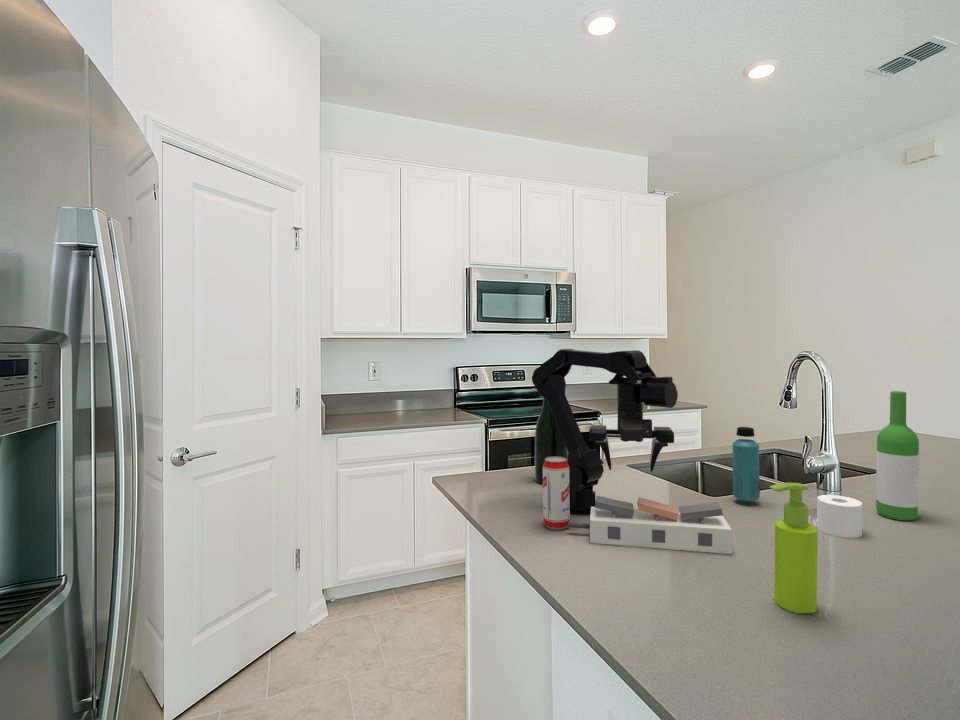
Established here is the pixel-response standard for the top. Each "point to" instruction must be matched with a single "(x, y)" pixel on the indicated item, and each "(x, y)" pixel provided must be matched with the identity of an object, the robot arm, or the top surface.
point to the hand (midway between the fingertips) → (630, 470)
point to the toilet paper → (839, 516)
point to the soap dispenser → (795, 554)
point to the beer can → (556, 493)
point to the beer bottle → (547, 440)
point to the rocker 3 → (700, 511)
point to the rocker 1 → (614, 506)
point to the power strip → (658, 531)
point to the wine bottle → (897, 465)
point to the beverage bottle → (745, 466)
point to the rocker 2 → (657, 508)
